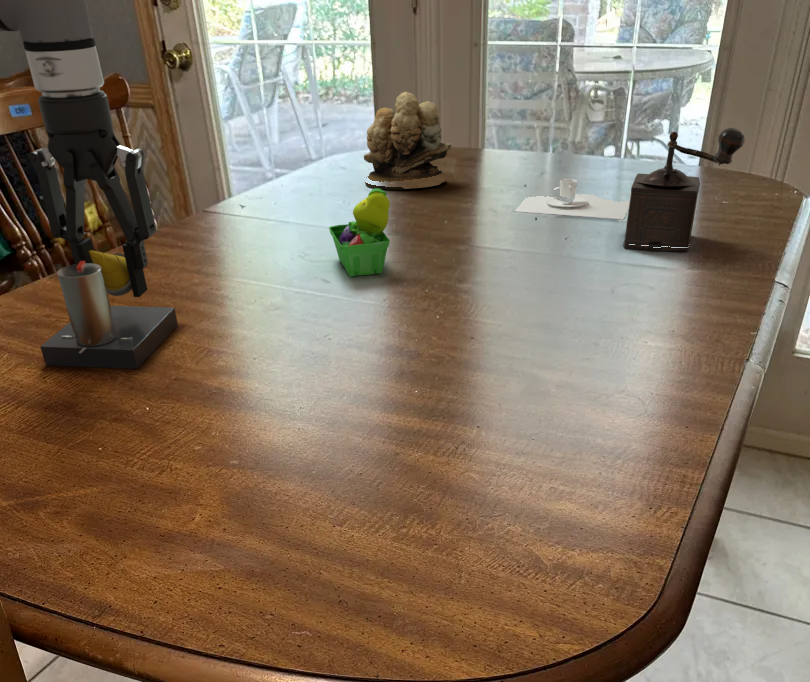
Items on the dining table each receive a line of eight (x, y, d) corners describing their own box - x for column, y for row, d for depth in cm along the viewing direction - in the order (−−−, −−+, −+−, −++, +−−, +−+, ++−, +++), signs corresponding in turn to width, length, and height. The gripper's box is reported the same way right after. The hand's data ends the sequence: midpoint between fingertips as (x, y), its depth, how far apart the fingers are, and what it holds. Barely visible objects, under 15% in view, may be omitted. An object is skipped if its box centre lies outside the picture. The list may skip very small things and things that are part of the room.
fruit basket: (329, 258, 134) (324, 184, 127) (383, 252, 136) (380, 179, 129) (343, 280, 125) (338, 202, 118) (400, 274, 127) (398, 197, 120)
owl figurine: (449, 175, 177) (450, 85, 166) (452, 189, 167) (453, 94, 157) (365, 177, 177) (361, 87, 167) (363, 191, 167) (358, 97, 157)
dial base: (39, 371, 101) (33, 350, 100) (94, 322, 114) (89, 303, 112) (132, 374, 100) (127, 354, 98) (178, 325, 112) (174, 306, 111)
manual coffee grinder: (621, 249, 134) (637, 127, 123) (627, 230, 142) (643, 114, 132) (721, 257, 130) (747, 131, 119) (722, 236, 138) (746, 117, 128)
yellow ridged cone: (155, 290, 109) (116, 256, 100) (121, 312, 110) (79, 279, 100) (138, 258, 110) (98, 221, 101) (105, 280, 111) (62, 245, 101)
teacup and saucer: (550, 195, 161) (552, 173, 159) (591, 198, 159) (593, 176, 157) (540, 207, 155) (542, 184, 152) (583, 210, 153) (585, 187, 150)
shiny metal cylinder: (114, 344, 101) (96, 273, 96) (72, 347, 101) (52, 275, 95) (120, 329, 105) (103, 259, 100) (80, 331, 105) (61, 261, 99)
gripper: (-23, 97, 92) (38, 301, 106) (135, 96, 89) (175, 305, 103) (12, 87, 98) (65, 281, 112) (160, 85, 95) (196, 284, 109)
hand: (118, 292), depth 107 cm, fingers closed on yellow ridged cone, 5 cm apart
